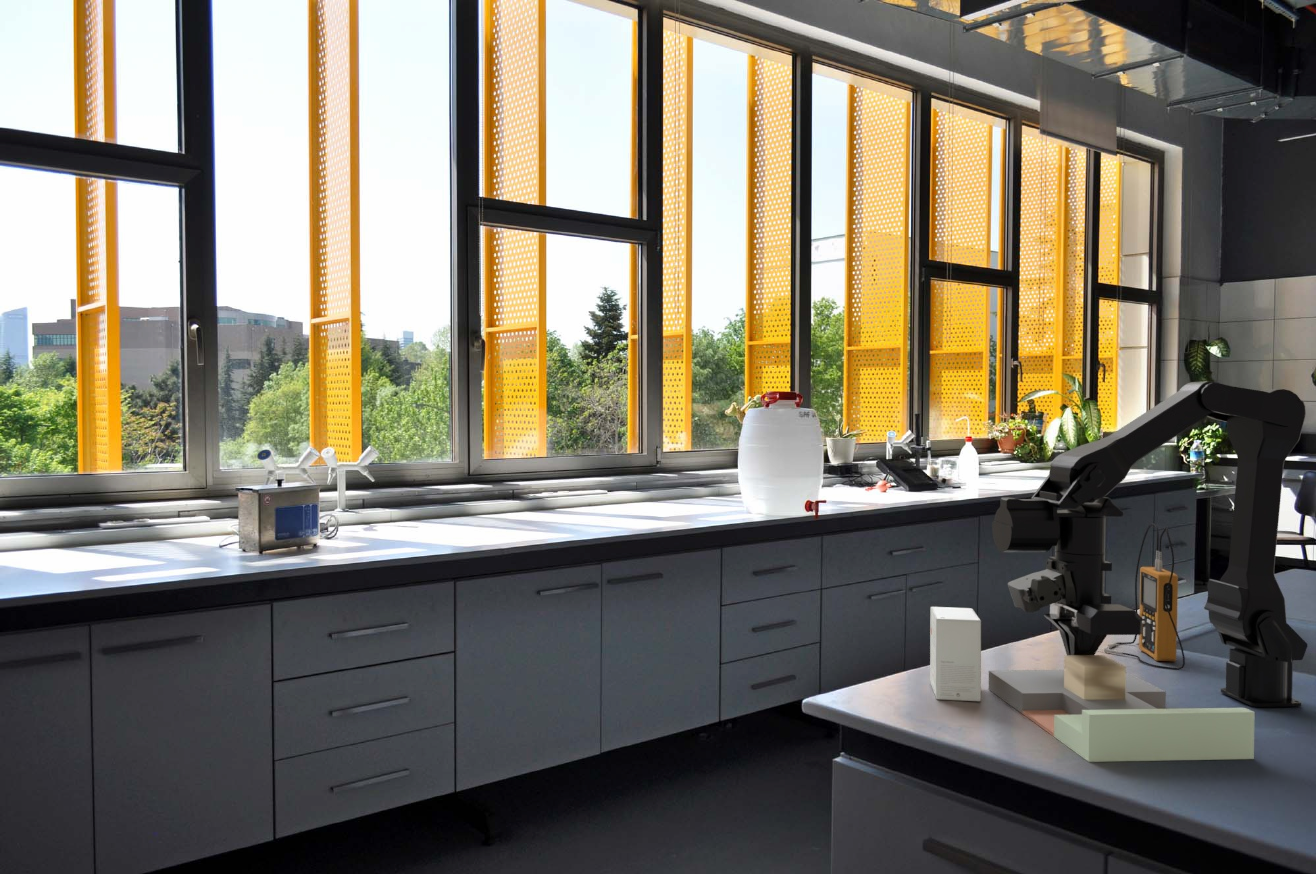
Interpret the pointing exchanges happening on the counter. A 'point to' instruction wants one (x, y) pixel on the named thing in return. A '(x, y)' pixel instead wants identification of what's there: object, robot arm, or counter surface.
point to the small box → (955, 653)
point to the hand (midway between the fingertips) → (1077, 674)
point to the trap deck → (1126, 720)
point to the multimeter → (1157, 609)
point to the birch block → (1094, 677)
